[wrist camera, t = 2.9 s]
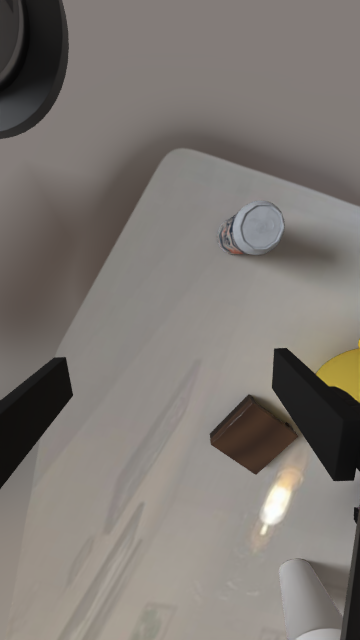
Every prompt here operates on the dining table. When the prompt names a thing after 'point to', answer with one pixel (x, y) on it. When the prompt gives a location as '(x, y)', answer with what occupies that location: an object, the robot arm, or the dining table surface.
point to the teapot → (343, 372)
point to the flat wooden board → (252, 435)
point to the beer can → (252, 229)
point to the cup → (307, 604)
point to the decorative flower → (356, 514)
